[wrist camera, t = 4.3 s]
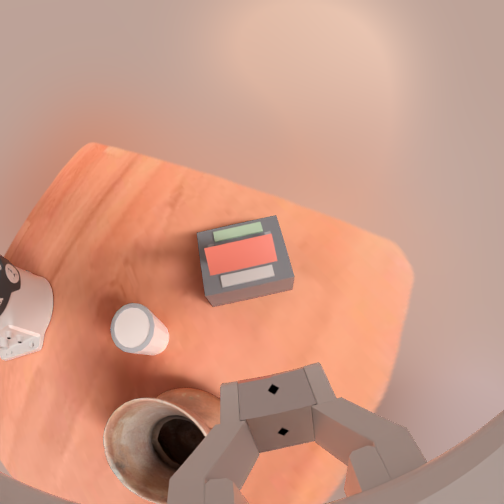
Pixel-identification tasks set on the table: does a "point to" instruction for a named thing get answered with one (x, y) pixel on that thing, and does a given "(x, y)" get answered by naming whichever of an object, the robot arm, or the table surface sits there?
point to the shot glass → (138, 330)
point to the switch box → (252, 278)
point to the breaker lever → (240, 254)
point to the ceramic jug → (157, 438)
